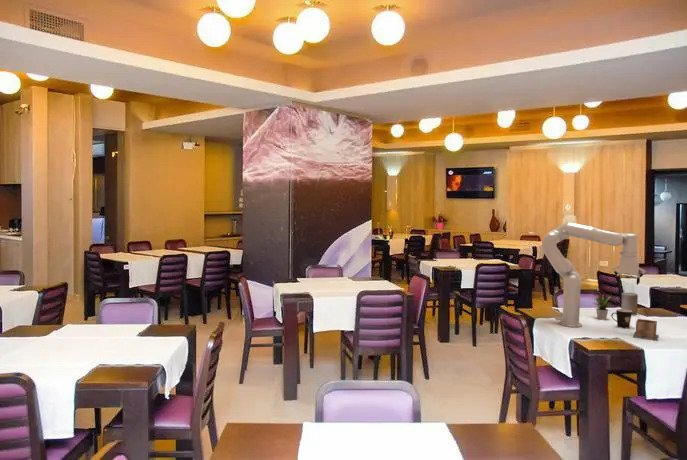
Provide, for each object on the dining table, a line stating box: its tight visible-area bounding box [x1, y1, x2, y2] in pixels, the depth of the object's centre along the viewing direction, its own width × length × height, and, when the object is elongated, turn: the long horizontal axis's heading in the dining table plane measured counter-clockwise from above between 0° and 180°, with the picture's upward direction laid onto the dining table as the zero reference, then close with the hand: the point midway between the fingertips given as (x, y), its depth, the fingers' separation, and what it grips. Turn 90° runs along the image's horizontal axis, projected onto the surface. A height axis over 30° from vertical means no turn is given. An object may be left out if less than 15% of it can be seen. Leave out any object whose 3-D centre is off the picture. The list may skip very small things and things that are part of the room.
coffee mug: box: [610, 308, 633, 329], centre depth 336 cm, size 12×9×10 cm
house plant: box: [591, 293, 612, 320], centre depth 357 cm, size 14×14×16 cm
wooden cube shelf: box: [632, 318, 660, 341], centre depth 312 cm, size 12×12×9 cm
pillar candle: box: [620, 292, 639, 316], centre depth 373 cm, size 10×10×15 cm
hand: (628, 283), depth 323 cm, fingers open, 9 cm apart
